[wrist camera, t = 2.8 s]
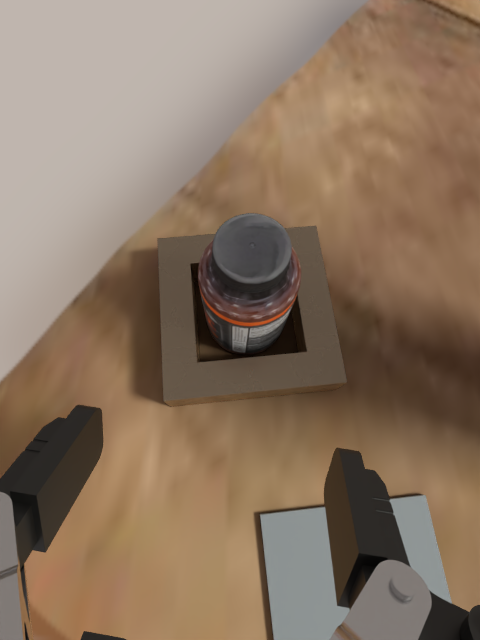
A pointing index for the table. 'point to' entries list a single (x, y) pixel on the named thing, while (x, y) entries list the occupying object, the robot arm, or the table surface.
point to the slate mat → (317, 572)
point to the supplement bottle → (248, 283)
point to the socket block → (254, 372)
